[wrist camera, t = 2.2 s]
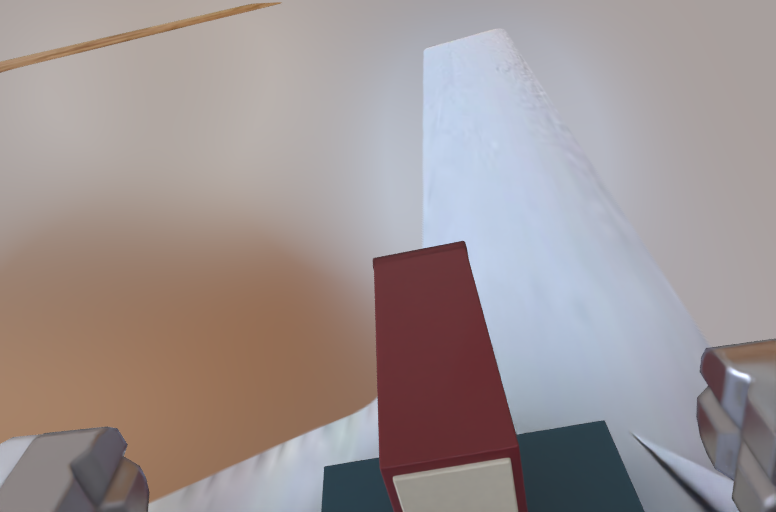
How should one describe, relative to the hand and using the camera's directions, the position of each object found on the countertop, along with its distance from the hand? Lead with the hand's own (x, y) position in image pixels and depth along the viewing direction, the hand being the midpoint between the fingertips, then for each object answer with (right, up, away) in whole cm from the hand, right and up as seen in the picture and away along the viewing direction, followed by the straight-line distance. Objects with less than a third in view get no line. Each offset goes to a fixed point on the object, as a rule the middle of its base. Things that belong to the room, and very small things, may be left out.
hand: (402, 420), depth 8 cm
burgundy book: (+4, -12, +21) cm, 24 cm away
